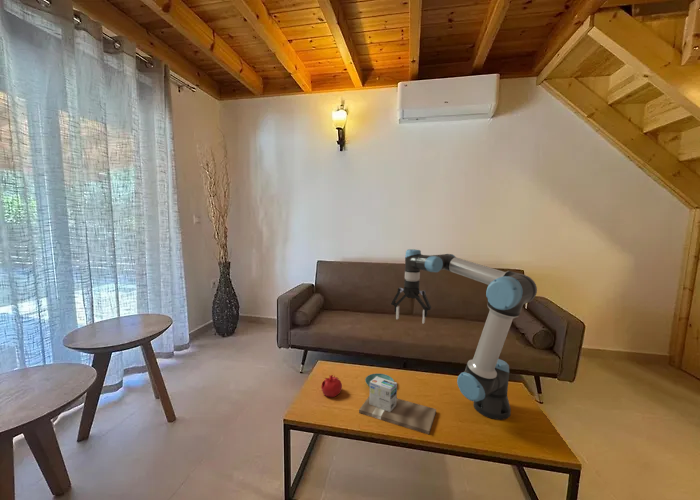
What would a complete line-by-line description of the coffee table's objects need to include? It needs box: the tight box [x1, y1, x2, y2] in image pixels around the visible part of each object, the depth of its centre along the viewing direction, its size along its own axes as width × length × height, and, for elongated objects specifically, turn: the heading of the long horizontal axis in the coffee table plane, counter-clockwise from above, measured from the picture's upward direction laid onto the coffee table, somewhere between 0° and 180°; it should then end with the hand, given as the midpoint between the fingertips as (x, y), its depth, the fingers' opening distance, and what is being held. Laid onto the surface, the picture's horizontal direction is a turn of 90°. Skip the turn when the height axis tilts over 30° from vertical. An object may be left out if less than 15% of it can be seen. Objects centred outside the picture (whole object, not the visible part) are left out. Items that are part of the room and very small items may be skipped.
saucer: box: [364, 373, 395, 388], centre depth 157 cm, size 15×15×3 cm
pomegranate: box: [321, 374, 343, 398], centre depth 148 cm, size 10×10×9 cm
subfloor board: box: [358, 396, 437, 436], centre depth 134 cm, size 30×16×2 cm, turn 65°
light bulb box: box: [368, 376, 398, 412], centre depth 137 cm, size 11×7×11 cm, turn 57°
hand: (410, 320), depth 158 cm, fingers open, 13 cm apart
